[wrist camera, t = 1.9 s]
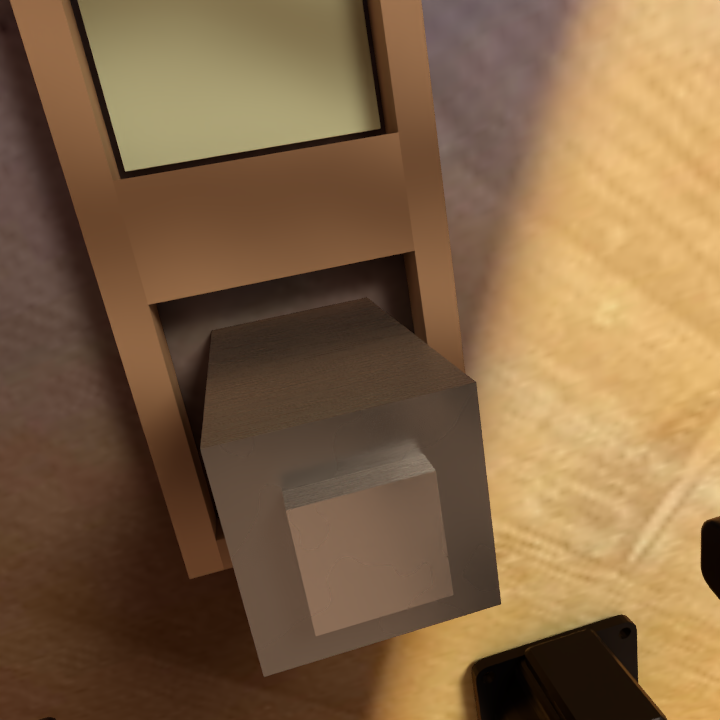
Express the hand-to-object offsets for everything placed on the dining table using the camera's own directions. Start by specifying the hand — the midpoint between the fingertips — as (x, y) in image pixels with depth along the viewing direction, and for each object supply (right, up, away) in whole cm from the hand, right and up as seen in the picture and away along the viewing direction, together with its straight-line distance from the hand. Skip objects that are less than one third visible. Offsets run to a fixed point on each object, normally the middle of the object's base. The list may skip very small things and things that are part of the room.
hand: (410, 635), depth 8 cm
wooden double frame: (-3, +8, +8) cm, 11 cm away
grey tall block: (-2, +3, +10) cm, 10 cm away
